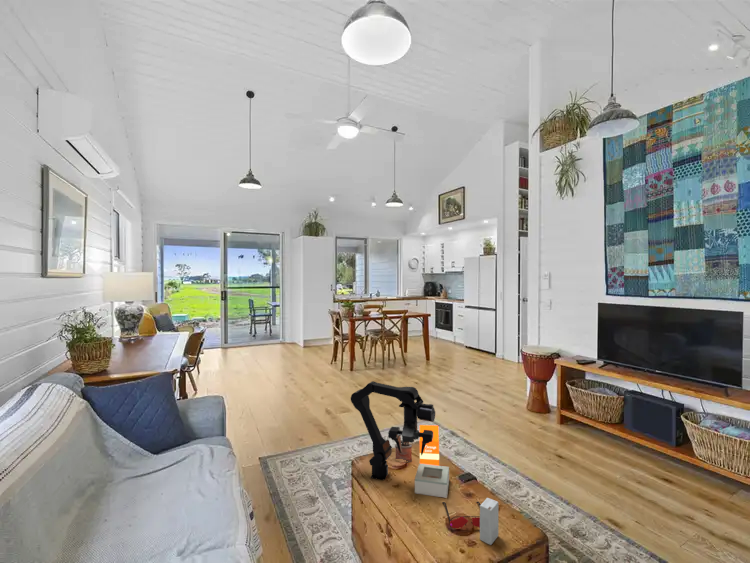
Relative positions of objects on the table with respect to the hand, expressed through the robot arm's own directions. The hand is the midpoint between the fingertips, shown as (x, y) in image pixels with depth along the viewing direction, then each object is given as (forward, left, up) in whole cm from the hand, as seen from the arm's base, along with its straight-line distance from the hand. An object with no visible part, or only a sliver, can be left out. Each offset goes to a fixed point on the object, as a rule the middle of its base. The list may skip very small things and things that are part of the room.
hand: (411, 453), depth 158 cm
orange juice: (+6, +15, -13) cm, 21 cm away
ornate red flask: (-7, +19, -13) cm, 24 cm away
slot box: (+9, 0, -13) cm, 16 cm away
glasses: (+23, -16, -14) cm, 31 cm away
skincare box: (+31, -26, -13) cm, 43 cm away
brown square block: (+9, 0, -12) cm, 15 cm away
